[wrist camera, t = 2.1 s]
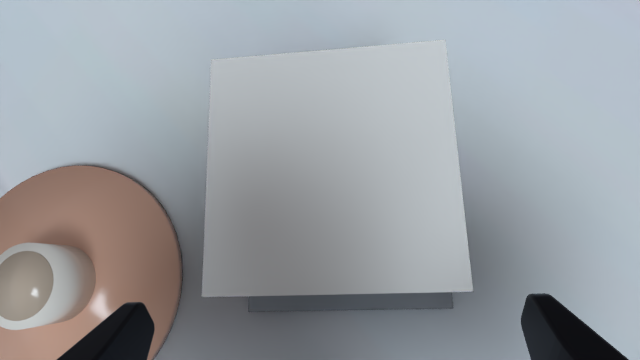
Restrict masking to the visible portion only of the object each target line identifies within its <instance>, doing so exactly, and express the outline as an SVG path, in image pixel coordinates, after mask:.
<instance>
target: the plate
mask: <svg viewBox="0 0 640 360" xmlns="http://www.w3.org/2000/svg"><path fill="white" fill-rule="evenodd" d="M22 243H43V244H56V245H69V246H74V247H77V248H79V249H81V250H83V251H84V252H85V253H86V254H87V255H88V256H89V258H90V259H91V261H92V263H93V265H94V268H95V274H96V283H95V288H94V292H93V295H92V297H91V299H90V301H89V303H88V304H87V306H86V307H85V308H84V309H83V310H82V311H81V312H80V313H79V314H78V315H77V316H75V317H74V318H72V319H70V320H68V321H65V322H61V323H55V324H49V325H44V326H38V327H33V328H27V329H21V330H10V329H5V328H3V327H1V326H0V360H57V359H58V358H59V357H60V356H61V355H63V354H64V353H65V352H66V351H67V350H69V349H70V348H71V347H72V346H73V345H75V344H76V343H77V342H78V341H79V340H81V339H82V338H83V337H84V336H85V335H87V334H88V333H89V332H90V331H91V330H93V329H94V328H95V327H96V326H97V325H99V324H100V323H101V322H102V321H104V320H105V319H106V318H107V317H108V316H110V315H111V314H112V313H113V312H114V311H116V310H117V309H118V308H119V307H120V306H122V305H123V304H125V303H127V302H142V303H144V304H145V306H146V308H147V310H148V312H149V314H150V316H151V318H152V320H153V322H154V326H155V330H154V335H153V339H152V343H151V346H150V350H149V354H148V358H147V360H154V358H155V357H156V355H157V354H158V352H159V351H160V349H161V347H162V346H163V344H164V342H165V340H166V338H167V336H168V334H169V332H170V330H171V327H172V324H173V322H174V319H175V316H176V313H177V309H178V305H179V301H180V296H181V287H182V259H181V252H180V246H179V243H178V239H177V235H176V232H175V230H174V227H173V225H172V223H171V220H170V218H169V217H168V215H167V213H166V212H165V210H164V208H163V207H162V206H161V204H160V203H159V202H158V201H157V199H156V198H155V197H154V196H153V195H152V194H151V193H150V192H149V191H148V190H146V189H145V188H144V187H143V186H141V185H140V184H138V183H137V182H135V181H134V180H132V179H130V178H128V177H126V176H124V175H122V174H119V173H117V172H114V171H111V170H107V169H104V168H100V167H93V166H68V167H60V168H56V169H52V170H49V171H46V172H43V173H40V174H38V175H35V176H33V177H31V178H29V179H27V180H25V181H24V182H22V183H20V184H19V185H17V186H16V187H14V188H13V189H11V190H10V191H8V192H7V193H6V194H5V195H4V196H3V197H1V198H0V255H1V254H2V253H3V252H5V251H6V250H7V249H9V248H11V247H13V246H15V245H18V244H22Z"/></svg>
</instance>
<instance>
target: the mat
mask: <svg viewBox="0 0 640 360" xmlns="http://www.w3.org/2000/svg"><path fill="white" fill-rule="evenodd" d="M444 308H453V301H452V292H434V293H385V294H337V295H288V296H249V307H248V312H262V311H323V310H384V309H444Z"/></svg>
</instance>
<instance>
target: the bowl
mask: <svg viewBox="0 0 640 360" xmlns="http://www.w3.org/2000/svg"><path fill="white" fill-rule="evenodd" d="M95 283H96V274H95V268H94V265H93V263H92V261H91V259H90V258H89V256H88V255H87V254H86V253H85V252H84V251H83V250H81V249H79V248H77V247H74V246H69V245H56V244H43V243H22V244H18V245H15V246H13V247H11V248H9V249H7V250H6V251H5V252H3V253H2V254H1V255H0V326H1V327H3V328H5V329H10V330H21V329H27V328H33V327H38V326H44V325H49V324H55V323H61V322H65V321H68V320H70V319H72V318H74V317H75V316H77V315H78V314H79V313H80V312H81V311H82V310H83V309H84V308H85V307H86V306H87V304H88V303H89V301H90V299H91V297H92V295H93V292H94V288H95Z"/></svg>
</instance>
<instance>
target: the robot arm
mask: <svg viewBox="0 0 640 360" xmlns="http://www.w3.org/2000/svg"><path fill="white" fill-rule="evenodd" d="M521 325H522V330H523V333H524V337H525V340H526V344H527V347H528V351H529V354H530V358H531V360H629V359H627V358H626V357H625V356H624V355H622V354H621V353H620V352H619V351H618V350H616V349H615V348H614V347H613V346H612V345H610V344H609V343H608V342H607V341H606V340H604V339H603V338H602V337H601V336H600V335H598V334H597V333H596V332H595V331H593V330H592V329H591V328H590V327H589V326H587V325H586V324H585V323H584V322H583V321H581V320H580V319H579V318H578V317H577V316H575V315H574V314H573V313H572V312H571V311H569V310H568V309H567V308H566V307H564V306H563V305H562V304H561V303H560V302H558V301H557V300H556V299H555V298H554V297H552V296H551V295H549V294H545V293H543V294H529V295H528V296H527V298H526V302H525V305H524V309H523V313H522V316H521ZM154 330H155V326H154V322H153V320H152V318H151V316H150V314H149V312H148V310H147V308H146V306H145V304H144V303H142V302H127V303H125V304H123V305H122V306H120V307H119V308H118V309H117V310H116V311H114V312H113V313H112V314H111V315H110V316H108V317H107V318H106V319H105V320H104V321H102V322H101V323H100V324H99V325H97V326H96V327H95V328H94V329H93V330H91V331H90V332H89V333H88V334H87V335H85V336H84V337H83V338H82V339H81V340H79V341H78V342H77V343H76V344H75V345H73V346H72V347H71V348H70V349H69V350H67V351H66V352H65V353H64V354H63V355H61V356H60V357H59V358H58V359H57V360H147V358H148V354H149V350H150V346H151V343H152V339H153V335H154Z"/></svg>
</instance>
